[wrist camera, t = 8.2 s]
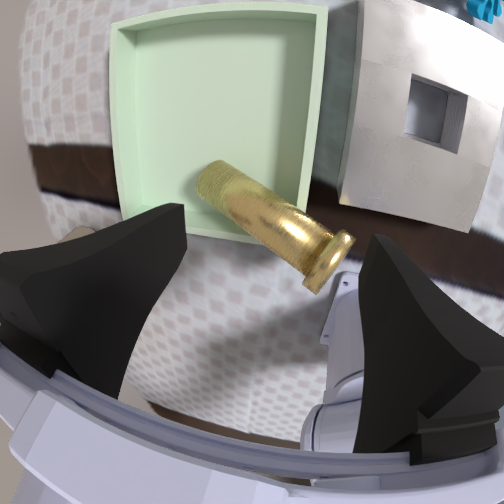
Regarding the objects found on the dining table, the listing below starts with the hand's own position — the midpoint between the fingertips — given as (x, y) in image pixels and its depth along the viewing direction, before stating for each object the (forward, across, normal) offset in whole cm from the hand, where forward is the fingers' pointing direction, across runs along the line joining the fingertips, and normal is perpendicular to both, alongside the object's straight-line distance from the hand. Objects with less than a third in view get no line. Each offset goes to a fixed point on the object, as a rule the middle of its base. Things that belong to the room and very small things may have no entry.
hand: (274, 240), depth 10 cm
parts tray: (+10, +6, -3) cm, 12 cm away
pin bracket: (+10, -8, -6) cm, 14 cm away
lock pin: (+8, +5, +1) cm, 10 cm away
